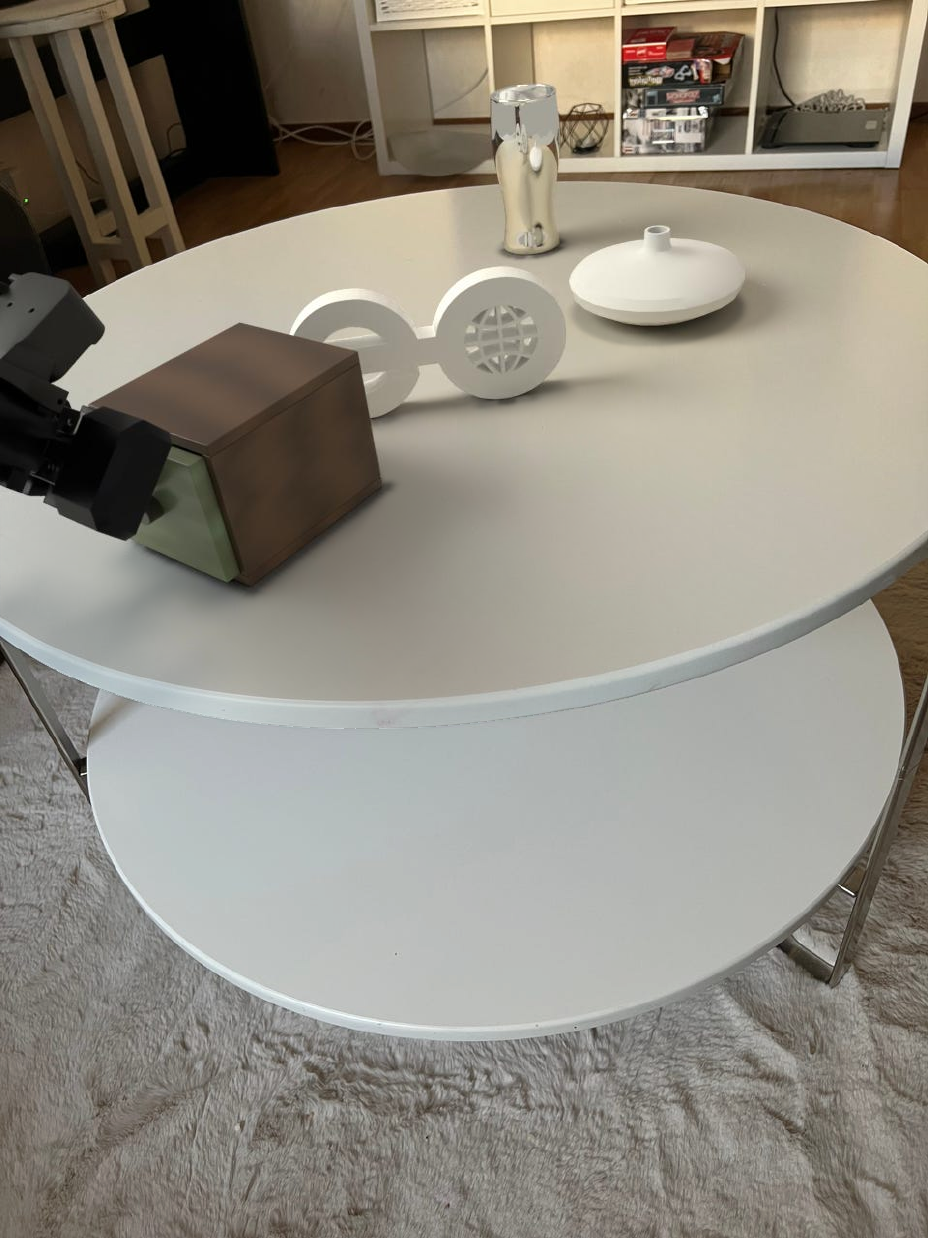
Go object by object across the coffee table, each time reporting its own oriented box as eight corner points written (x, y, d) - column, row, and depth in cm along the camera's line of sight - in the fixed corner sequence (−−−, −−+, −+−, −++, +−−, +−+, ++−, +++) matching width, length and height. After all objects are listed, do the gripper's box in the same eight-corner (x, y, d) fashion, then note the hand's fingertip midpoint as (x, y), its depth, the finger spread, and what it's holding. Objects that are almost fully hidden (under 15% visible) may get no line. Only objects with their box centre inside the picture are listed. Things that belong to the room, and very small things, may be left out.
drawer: (213, 593, 62) (173, 476, 57) (113, 547, 68) (67, 435, 62) (354, 488, 70) (331, 376, 65) (254, 454, 76) (224, 347, 70)
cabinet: (250, 586, 64) (206, 445, 57) (139, 537, 70) (87, 404, 63) (383, 485, 72) (358, 350, 65) (272, 448, 78) (239, 321, 71)
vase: (620, 265, 99) (620, 192, 95) (770, 287, 91) (778, 209, 87) (538, 327, 90) (533, 250, 85) (697, 357, 82) (701, 274, 78)
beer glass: (543, 228, 110) (536, 79, 100) (575, 245, 105) (571, 90, 95) (488, 243, 108) (475, 93, 98) (518, 261, 103) (508, 104, 93)
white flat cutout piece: (562, 376, 82) (558, 257, 76) (568, 388, 80) (563, 267, 74) (303, 415, 81) (275, 298, 75) (302, 428, 80) (274, 310, 73)
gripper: (86, 265, 44) (298, 401, 57) (-122, 218, 53) (102, 344, 67) (-8, 496, 44) (227, 577, 57) (-200, 408, 53) (41, 495, 67)
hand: (145, 488), depth 62 cm, fingers closed, pressing on drawer
